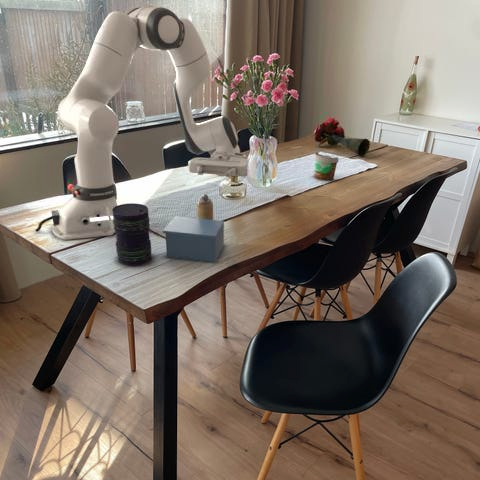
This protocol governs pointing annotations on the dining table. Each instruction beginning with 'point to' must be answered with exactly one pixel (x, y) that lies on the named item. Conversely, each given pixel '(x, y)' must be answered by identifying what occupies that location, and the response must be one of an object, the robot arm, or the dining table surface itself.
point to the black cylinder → (132, 234)
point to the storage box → (195, 247)
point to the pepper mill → (205, 208)
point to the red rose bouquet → (340, 137)
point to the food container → (324, 167)
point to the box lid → (194, 227)
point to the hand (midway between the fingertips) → (213, 173)
